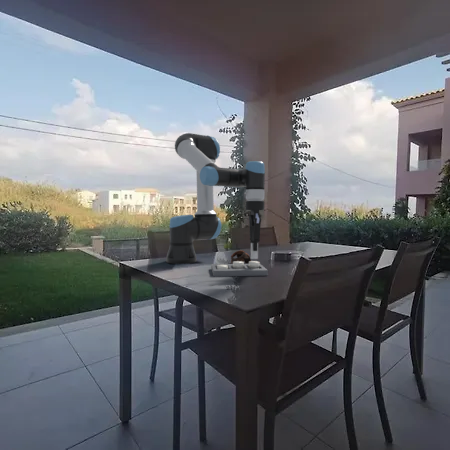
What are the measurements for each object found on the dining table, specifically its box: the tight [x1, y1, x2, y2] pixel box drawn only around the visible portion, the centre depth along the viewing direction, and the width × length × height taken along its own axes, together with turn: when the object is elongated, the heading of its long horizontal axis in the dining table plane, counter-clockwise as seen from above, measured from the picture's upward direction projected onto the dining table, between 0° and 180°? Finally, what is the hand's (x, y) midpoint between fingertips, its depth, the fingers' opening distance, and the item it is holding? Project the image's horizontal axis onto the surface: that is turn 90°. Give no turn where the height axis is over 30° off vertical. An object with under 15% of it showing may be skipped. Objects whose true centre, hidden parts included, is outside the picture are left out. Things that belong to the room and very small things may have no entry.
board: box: [210, 263, 269, 277], centre depth 123 cm, size 14×21×3 cm, turn 96°
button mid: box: [233, 261, 245, 269], centre depth 123 cm, size 4×4×2 cm
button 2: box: [248, 260, 261, 269], centre depth 124 cm, size 4×4×2 cm
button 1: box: [217, 265, 228, 269], centre depth 122 cm, size 4×4×2 cm
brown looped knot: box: [230, 249, 252, 264], centre depth 144 cm, size 12×10×8 cm
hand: (254, 258), depth 123 cm, fingers closed
